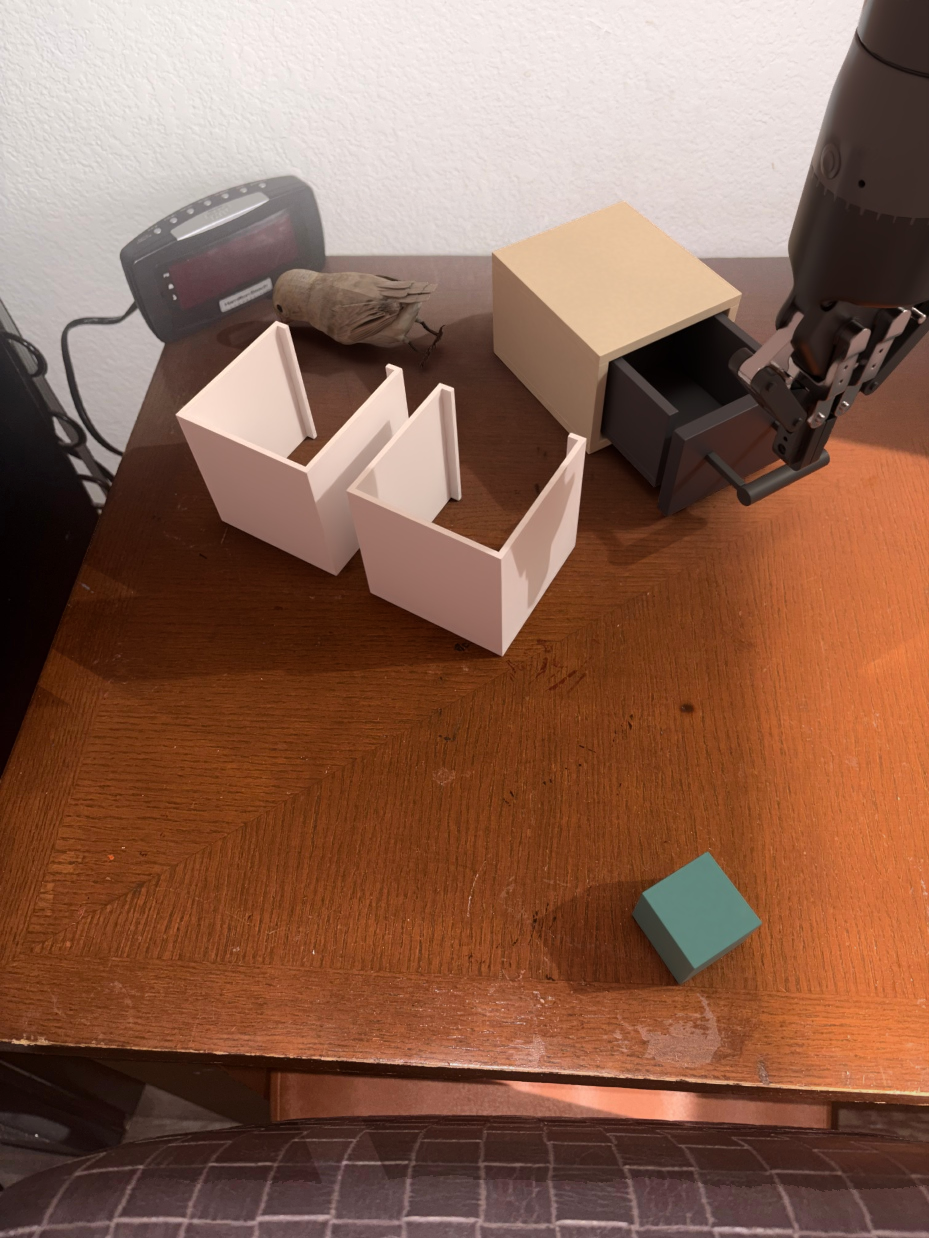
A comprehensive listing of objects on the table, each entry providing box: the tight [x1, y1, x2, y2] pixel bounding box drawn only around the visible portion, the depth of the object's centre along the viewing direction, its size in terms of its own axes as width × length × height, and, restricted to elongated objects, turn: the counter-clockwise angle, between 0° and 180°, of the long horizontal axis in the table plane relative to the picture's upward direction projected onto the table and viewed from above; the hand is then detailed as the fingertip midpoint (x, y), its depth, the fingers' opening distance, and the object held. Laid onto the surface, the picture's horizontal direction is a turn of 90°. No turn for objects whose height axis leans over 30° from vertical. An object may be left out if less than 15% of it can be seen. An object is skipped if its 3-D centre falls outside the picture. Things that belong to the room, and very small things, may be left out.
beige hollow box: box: [491, 200, 743, 455], centre depth 69 cm, size 15×13×10 cm
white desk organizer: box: [175, 320, 586, 657], centre depth 60 cm, size 25×11×11 cm, turn 59°
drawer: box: [600, 312, 831, 518], centre depth 63 cm, size 18×12×8 cm, turn 30°
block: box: [631, 851, 763, 986], centre depth 46 cm, size 4×4×4 cm
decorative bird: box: [271, 268, 446, 374], centre depth 74 cm, size 5×16×8 cm, turn 68°
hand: (794, 457), depth 49 cm, fingers closed
